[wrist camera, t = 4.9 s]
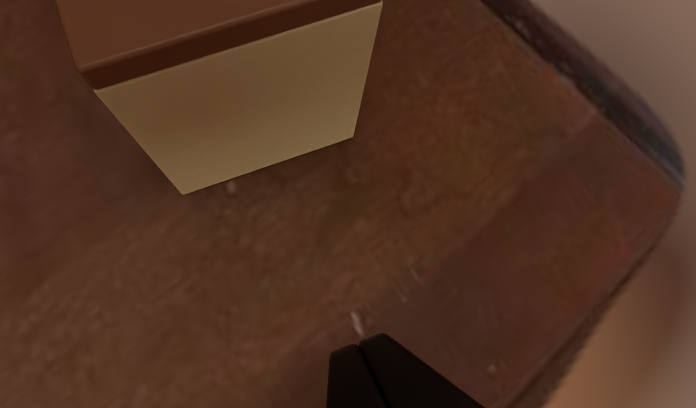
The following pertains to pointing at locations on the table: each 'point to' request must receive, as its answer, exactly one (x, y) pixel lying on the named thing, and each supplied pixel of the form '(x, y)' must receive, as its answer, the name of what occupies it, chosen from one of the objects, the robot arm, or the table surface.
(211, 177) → the cake slice
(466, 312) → the table surface
